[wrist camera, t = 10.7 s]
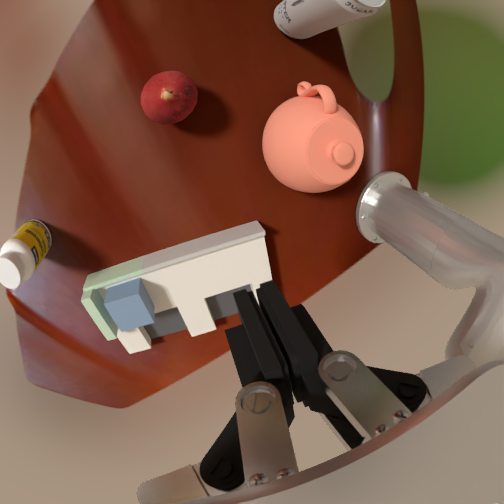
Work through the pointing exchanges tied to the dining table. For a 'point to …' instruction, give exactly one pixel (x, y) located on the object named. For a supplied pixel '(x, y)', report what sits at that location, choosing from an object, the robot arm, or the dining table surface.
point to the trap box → (185, 284)
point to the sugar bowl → (312, 141)
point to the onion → (169, 97)
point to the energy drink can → (320, 15)
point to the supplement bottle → (23, 253)
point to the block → (129, 305)
